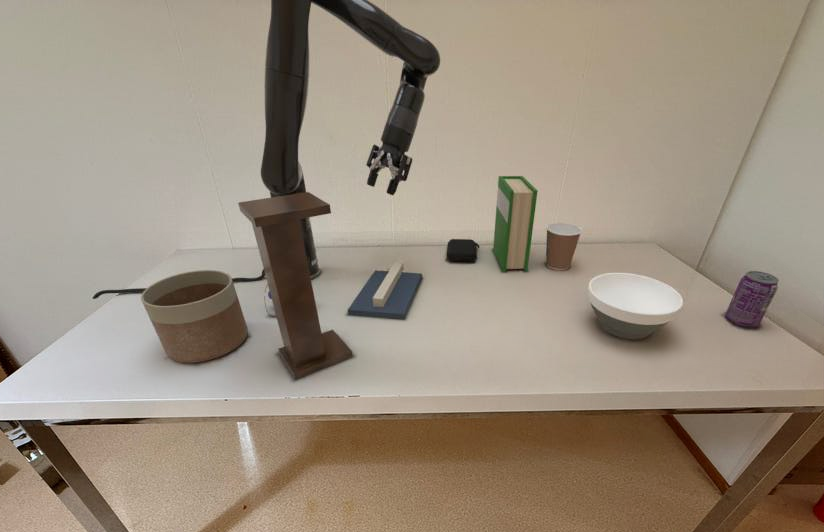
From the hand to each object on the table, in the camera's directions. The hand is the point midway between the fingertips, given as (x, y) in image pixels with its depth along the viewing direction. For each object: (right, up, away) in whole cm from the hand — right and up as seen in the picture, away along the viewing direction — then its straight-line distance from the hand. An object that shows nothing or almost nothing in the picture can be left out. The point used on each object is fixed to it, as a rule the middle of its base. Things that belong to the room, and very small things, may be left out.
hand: (379, 189), depth 104 cm
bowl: (+60, -36, -12) cm, 71 cm away
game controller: (-21, -32, -6) cm, 39 cm away
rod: (+3, -26, +1) cm, 26 cm away
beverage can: (+89, -35, -9) cm, 96 cm away
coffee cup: (+52, -18, +17) cm, 58 cm away
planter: (-34, -39, -18) cm, 55 cm away
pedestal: (-10, -42, -22) cm, 48 cm away
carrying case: (+23, -14, +24) cm, 36 cm away
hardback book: (+38, -16, +21) cm, 46 cm away
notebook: (+2, -28, 0) cm, 28 cm away
